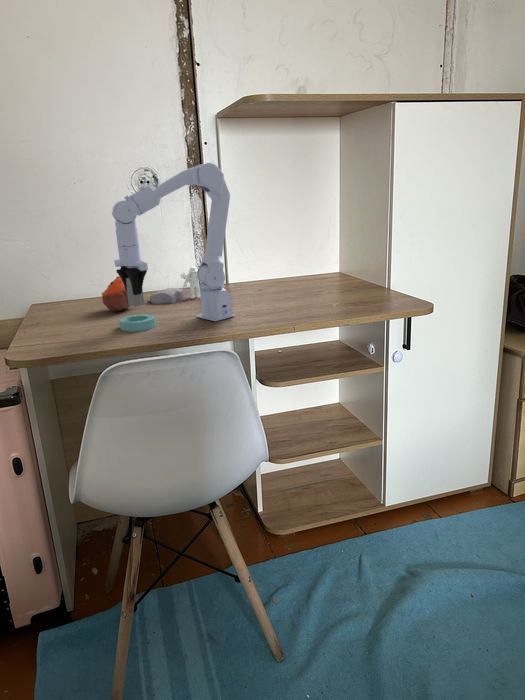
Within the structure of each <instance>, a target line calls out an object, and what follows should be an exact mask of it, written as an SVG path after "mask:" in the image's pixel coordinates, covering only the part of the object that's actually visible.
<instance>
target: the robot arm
mask: <svg viewBox="0 0 525 700" xmlns="http://www.w3.org/2000/svg"><path fill="white" fill-rule="evenodd" d="M194 185H195V186H196V187H198V188H200V189H202V190H203V191H204V192H205V193H206V195H207V196H208V197H209V198H210V199H211V203H210V212H209V219H208V226H207V234H206V239H205V240H206V242H205V249H204V255H203V256H202V259H201V262H200V263H201V264H200V266H198V268H197V269H198V271H197V277H198V279H199V283H200V284H199V288H200V307H201V314H196V315H195V317H196V318H200V319H203V320H208V321H212V322H218V321H221V320H226V319H229V318H233V317H235V316H236V314H233V300H232V298H233V297H232V295H231V292H230V291H228V290H226V289H225V288H224V287H225V286H224V283H225V281H226V275H225V272H224V266H225V265H224V260H223V252H224V242H225V236H226V228H227V222H228V215H229V207H230V199H231V194H230V191H229V188H228V186H227V183H226V181H225V175H224V172H223V171H222V170H221V169H220V168H219V167H218V166H217V165H216V164H214V163H212V162H206V163H203V164H201V163H199V164H196V165H195V166H193V167H192V166H191V167H189V168H187V169H184V170H182V171H180V172H178V173H177V174H175V175H173V176H172V177H170V178H169V179H167V180H165V181H164V182H162V183H160V184H159V185H157V186H156V187H153V186H150V185H147V186H144V185H143V186H140V187H139V190H138V191H137V192H134V193H133V194H131V195H125V196H124V197H123V198H124V199H125V200H120V201H117V202H115V204H114V205H113V207H112V211H111V215H112V217H113V219H114V221H115V222H114V225H115V234H116V235H115V236H116V243H117V251H118V259H114V266H115V268H118V267H119V269H116V273H117V275H118V277H120V278H121V279H122V281H123V284H124V286H125V289H126V292H127V287H126V280H125V278H126V277H129V279H130V282H131V286H132V290H133V293H134V295H139V294H141V293H142V289H143V286H144V279H145V277H146V274H147V273H148V270H149V267H148V262H145V261H143V260H141V254H140V253H141V251H140V244H139V236H138V229H137V226H136V225H137V224H136V218H137V216H139V217H140V216H141V215H142V216H143V215H144V214H146V213H147V212H149V211H150V210H152V209H154V208H156V207H158V206H159V205H160V202H161V199H162V198H164V197H165V196H168V195H169V194H171V193H173V192H175V191H177V190H179V189H181V188H183V187H185V186H194Z"/></svg>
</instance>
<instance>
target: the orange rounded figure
mask: <svg viewBox="0 0 525 700" xmlns="http://www.w3.org/2000/svg"><path fill="white" fill-rule="evenodd" d="M101 296H102V297H101V298H102V303H103V305H104V306H105V307H106V308H107V309H108V310H109V311H112V312H121V311H123V310H126V309H127V308H129V307H131V306H130V305H129V303H128V295H127V292H126V289H125V286H124V284H123V281H122V279H121V278H120V276H116V277H115V279H113V280H112V281H111V282H110V283H109V284H108V285H107V288H106V289H105V290H104V291H102V292H101Z"/></svg>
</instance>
